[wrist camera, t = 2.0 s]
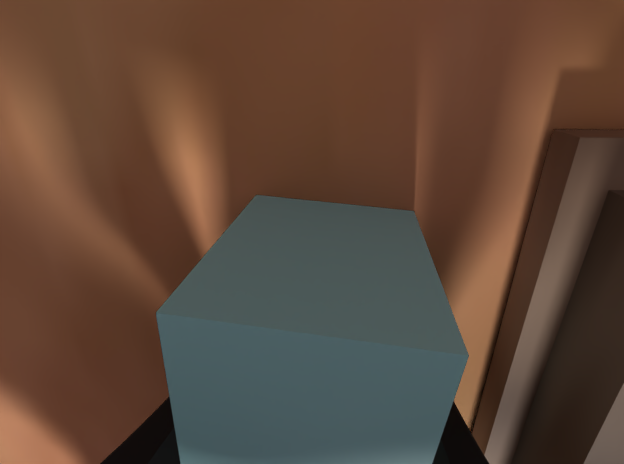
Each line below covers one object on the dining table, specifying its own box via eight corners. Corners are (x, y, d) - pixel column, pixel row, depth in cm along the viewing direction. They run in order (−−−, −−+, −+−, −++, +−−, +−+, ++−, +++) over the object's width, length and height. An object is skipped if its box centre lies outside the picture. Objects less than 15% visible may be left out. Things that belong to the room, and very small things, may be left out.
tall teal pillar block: (356, 491, 14) (354, 691, 9) (259, 474, 14) (212, 659, 10) (413, 208, 9) (468, 355, 4) (257, 192, 9) (156, 312, 5)
